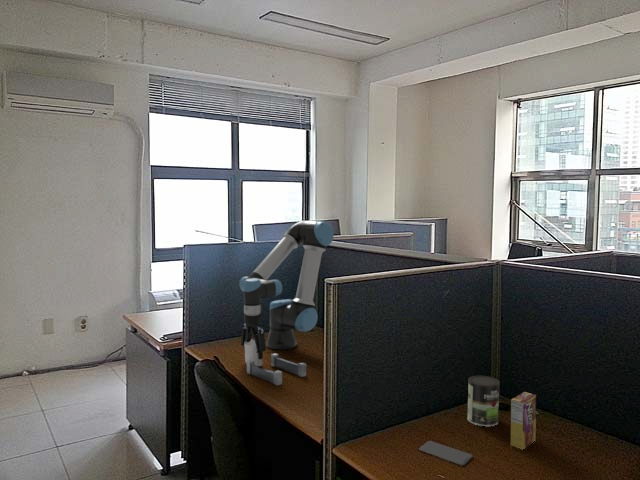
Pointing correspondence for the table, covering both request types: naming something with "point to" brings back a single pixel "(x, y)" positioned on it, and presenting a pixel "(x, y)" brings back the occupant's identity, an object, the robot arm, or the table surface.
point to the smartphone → (446, 452)
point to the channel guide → (277, 375)
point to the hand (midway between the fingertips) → (253, 363)
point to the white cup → (250, 351)
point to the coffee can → (483, 400)
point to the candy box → (523, 420)
